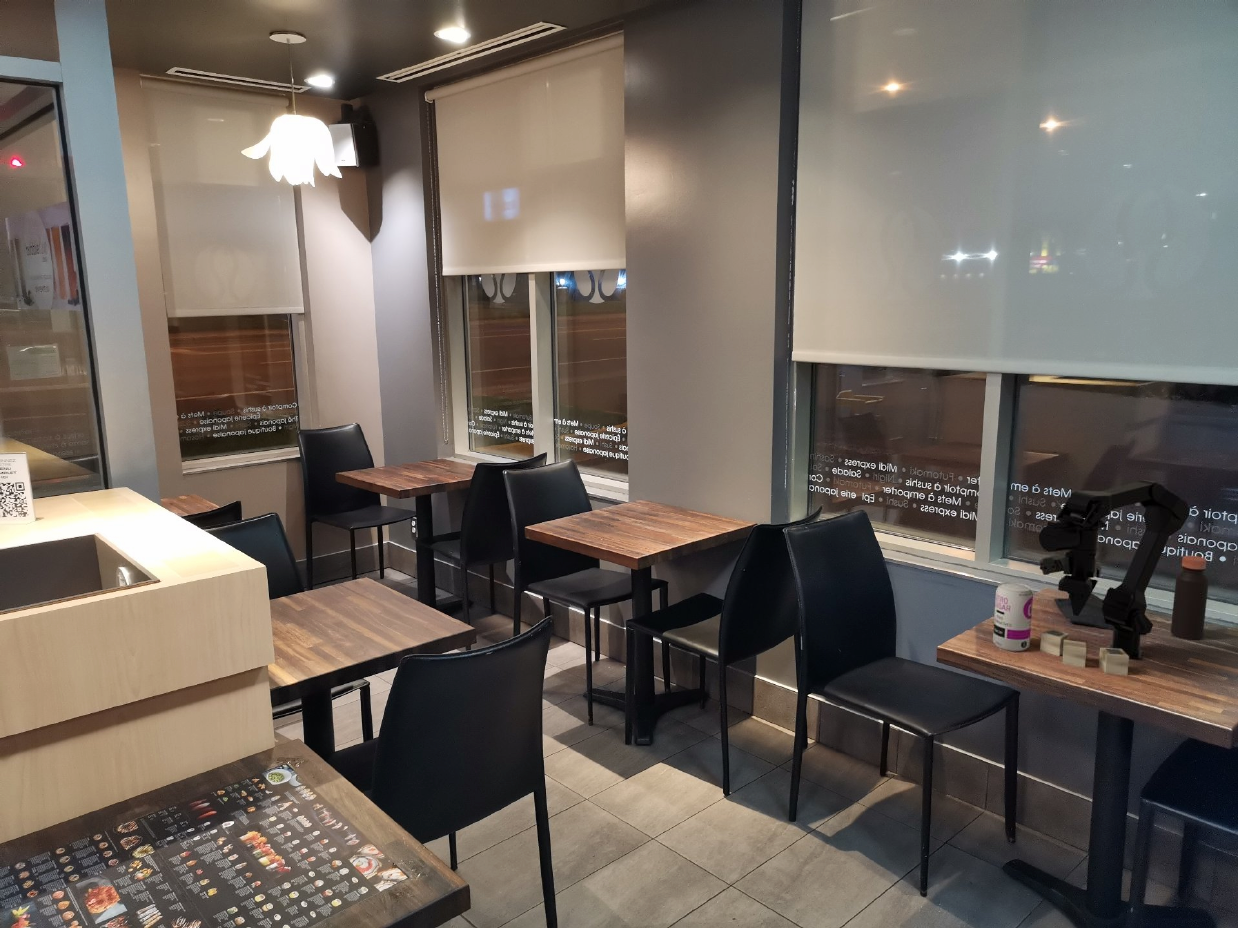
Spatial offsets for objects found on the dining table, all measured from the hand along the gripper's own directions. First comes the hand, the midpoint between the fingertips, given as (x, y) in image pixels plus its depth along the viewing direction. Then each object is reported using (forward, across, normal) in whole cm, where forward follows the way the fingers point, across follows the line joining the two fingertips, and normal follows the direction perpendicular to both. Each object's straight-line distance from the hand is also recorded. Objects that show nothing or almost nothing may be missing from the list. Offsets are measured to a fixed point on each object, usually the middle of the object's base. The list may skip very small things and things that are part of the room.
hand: (1077, 612), depth 198 cm
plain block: (+12, 0, 0) cm, 12 cm away
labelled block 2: (+12, 0, +8) cm, 15 cm away
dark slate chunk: (+13, -38, -2) cm, 40 cm away
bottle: (+12, -35, +20) cm, 42 cm away
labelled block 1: (+12, -5, -5) cm, 14 cm away
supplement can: (+12, -3, -14) cm, 19 cm away
